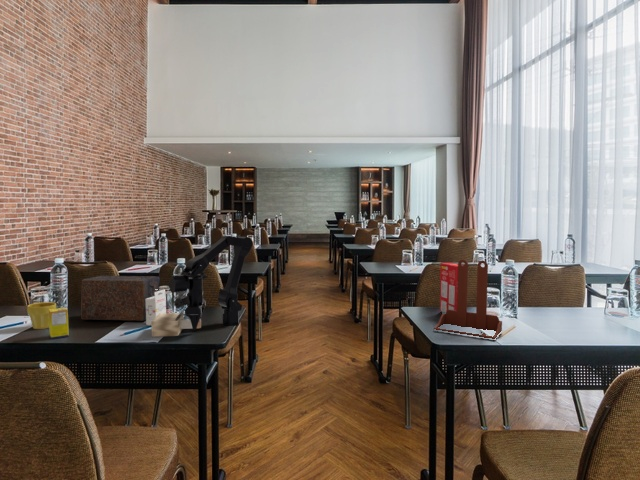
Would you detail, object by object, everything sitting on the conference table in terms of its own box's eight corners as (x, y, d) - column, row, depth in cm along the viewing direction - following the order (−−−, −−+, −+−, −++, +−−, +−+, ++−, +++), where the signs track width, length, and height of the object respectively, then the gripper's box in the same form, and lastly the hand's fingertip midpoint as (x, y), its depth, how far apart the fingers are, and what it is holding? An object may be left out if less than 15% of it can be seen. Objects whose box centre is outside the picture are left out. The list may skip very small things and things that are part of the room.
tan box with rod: (183, 326, 185) (183, 310, 185) (178, 335, 172) (177, 318, 171) (159, 327, 184) (159, 311, 184) (151, 336, 170) (151, 319, 170)
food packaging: (465, 319, 203) (466, 266, 201) (455, 319, 202) (456, 266, 200) (449, 312, 217) (450, 262, 216) (439, 312, 216) (440, 263, 215)
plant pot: (58, 327, 182) (57, 305, 182) (28, 331, 176) (28, 308, 176) (55, 323, 191) (54, 301, 190) (27, 326, 184) (26, 303, 184)
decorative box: (98, 316, 209) (76, 321, 189) (100, 274, 211) (78, 275, 191) (161, 317, 210) (146, 322, 190) (163, 275, 211) (148, 277, 191)
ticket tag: (201, 327, 180) (201, 318, 180) (200, 328, 179) (200, 319, 179) (161, 328, 178) (161, 320, 178) (160, 329, 177) (160, 320, 176)
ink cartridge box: (156, 320, 196) (156, 288, 195) (166, 321, 195) (166, 289, 194) (145, 325, 188) (144, 291, 187) (155, 326, 187) (155, 292, 186)
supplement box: (66, 333, 174) (65, 306, 173) (68, 336, 169) (68, 309, 168) (48, 336, 170) (48, 308, 169) (51, 339, 165) (50, 311, 165)
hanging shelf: (433, 331, 180) (435, 260, 179) (443, 325, 191) (445, 258, 190) (494, 341, 167) (496, 264, 165) (501, 334, 178) (503, 261, 176)
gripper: (179, 286, 186) (179, 322, 187) (171, 294, 168) (171, 333, 169) (205, 286, 188) (206, 321, 189) (200, 293, 170) (200, 332, 171)
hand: (195, 326), depth 179 cm, fingers open, 9 cm apart
